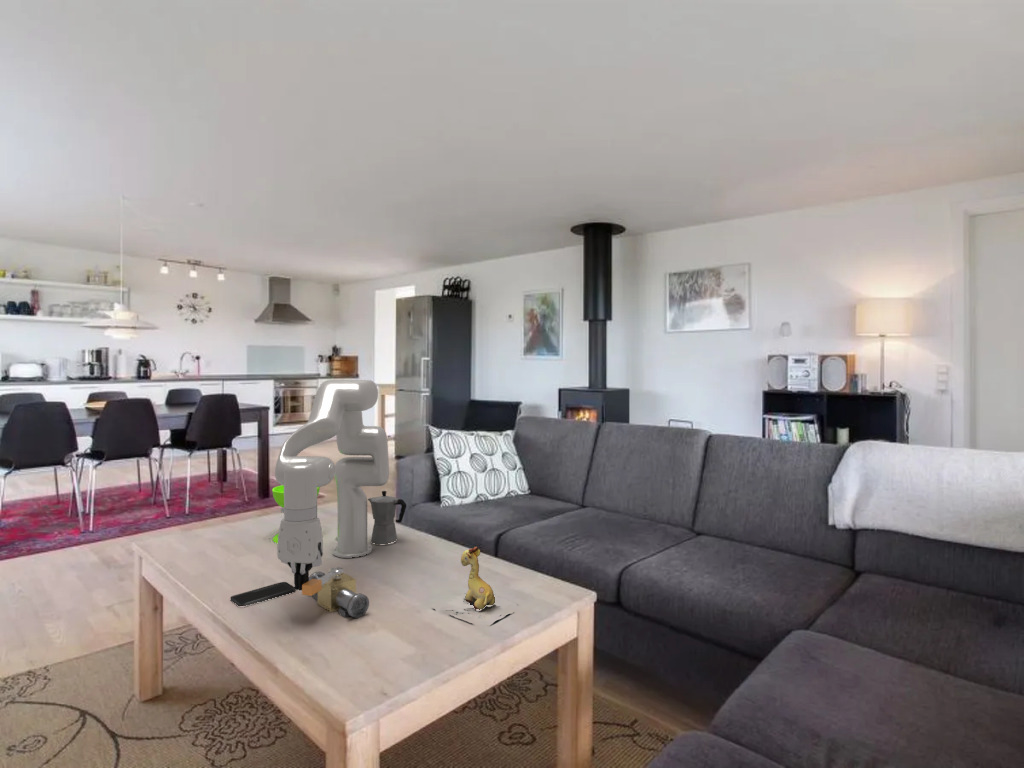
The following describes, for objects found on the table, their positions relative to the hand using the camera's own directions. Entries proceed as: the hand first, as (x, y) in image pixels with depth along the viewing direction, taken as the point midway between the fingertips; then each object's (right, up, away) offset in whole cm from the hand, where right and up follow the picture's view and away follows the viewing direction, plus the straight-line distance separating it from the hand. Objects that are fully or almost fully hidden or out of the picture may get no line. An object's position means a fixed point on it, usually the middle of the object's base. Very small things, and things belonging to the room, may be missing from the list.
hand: (301, 587), depth 137 cm
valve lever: (+4, 0, +4) cm, 6 cm away
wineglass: (-26, -6, +64) cm, 70 cm away
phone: (-16, -8, +15) cm, 23 cm away
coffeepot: (+7, -6, +60) cm, 61 cm away
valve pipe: (+6, -8, +9) cm, 13 cm away
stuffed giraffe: (+43, -9, +8) cm, 44 cm away
